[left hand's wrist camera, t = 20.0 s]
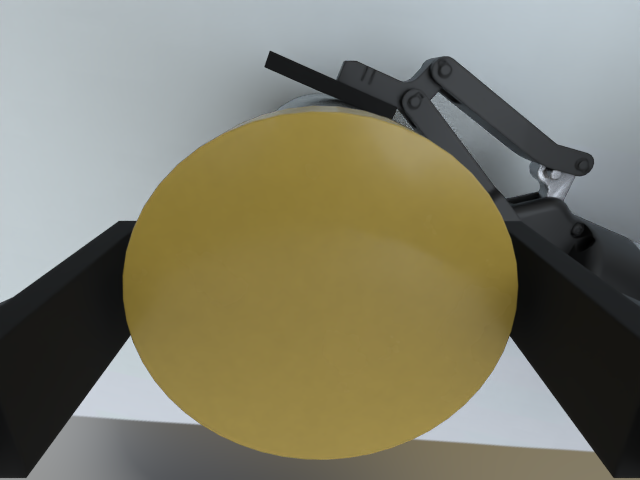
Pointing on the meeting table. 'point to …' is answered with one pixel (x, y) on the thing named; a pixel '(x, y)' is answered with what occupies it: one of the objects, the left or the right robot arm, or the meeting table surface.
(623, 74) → the meeting table surface
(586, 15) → the meeting table surface
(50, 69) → the meeting table surface
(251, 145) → the lid
